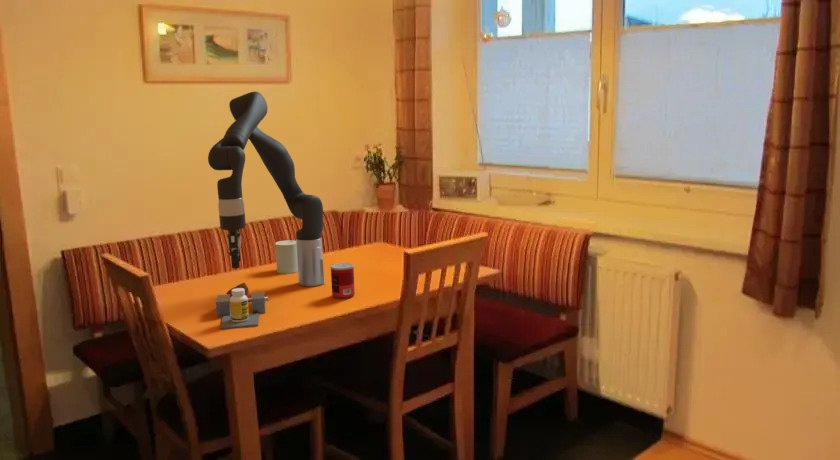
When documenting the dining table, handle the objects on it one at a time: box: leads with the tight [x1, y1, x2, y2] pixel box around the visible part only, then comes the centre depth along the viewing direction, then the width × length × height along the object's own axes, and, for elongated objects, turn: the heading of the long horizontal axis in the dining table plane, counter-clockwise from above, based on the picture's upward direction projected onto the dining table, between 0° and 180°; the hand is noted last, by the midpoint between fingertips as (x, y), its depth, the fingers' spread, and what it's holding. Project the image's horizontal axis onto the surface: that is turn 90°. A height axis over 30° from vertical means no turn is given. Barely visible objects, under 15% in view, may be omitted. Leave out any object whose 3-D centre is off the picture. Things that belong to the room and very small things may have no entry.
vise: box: [215, 291, 269, 318], centre depth 230 cm, size 17×10×5 cm, turn 101°
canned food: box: [330, 262, 356, 300], centre depth 243 cm, size 8×8×11 cm
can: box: [274, 239, 298, 275], centre depth 279 cm, size 9×9×12 cm
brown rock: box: [225, 282, 249, 297], centre depth 243 cm, size 8×7×5 cm
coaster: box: [220, 313, 260, 330], centre depth 219 cm, size 11×11×1 cm
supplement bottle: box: [230, 288, 250, 322], centre depth 218 cm, size 5×5×10 cm
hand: (236, 264), depth 215 cm, fingers open, 8 cm apart
